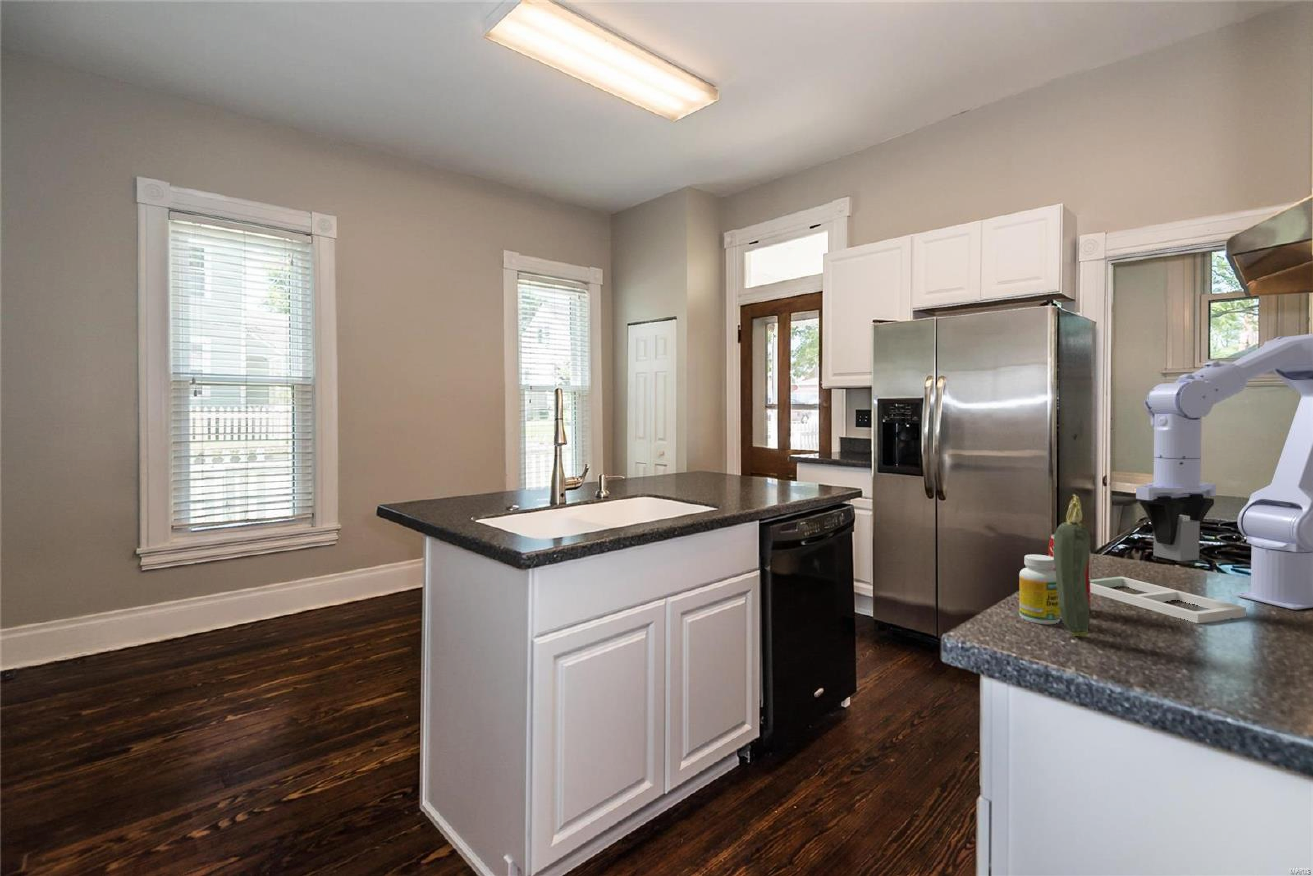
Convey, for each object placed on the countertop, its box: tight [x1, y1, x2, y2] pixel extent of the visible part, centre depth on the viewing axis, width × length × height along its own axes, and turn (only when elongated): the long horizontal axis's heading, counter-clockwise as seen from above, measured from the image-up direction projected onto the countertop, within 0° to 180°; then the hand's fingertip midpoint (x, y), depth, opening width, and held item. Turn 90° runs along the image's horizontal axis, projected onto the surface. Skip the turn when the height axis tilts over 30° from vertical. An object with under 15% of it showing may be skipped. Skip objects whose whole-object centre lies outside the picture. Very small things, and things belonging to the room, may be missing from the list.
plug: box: [1152, 515, 1201, 562], centre depth 97 cm, size 4×4×7 cm
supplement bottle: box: [1018, 553, 1061, 625], centre depth 93 cm, size 5×5×10 cm
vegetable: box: [1054, 494, 1091, 638], centre depth 86 cm, size 4×4×20 cm
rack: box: [1090, 576, 1247, 624], centre depth 101 cm, size 10×19×1 cm, turn 15°
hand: (1175, 542), depth 97 cm, fingers closed on plug, 4 cm apart
